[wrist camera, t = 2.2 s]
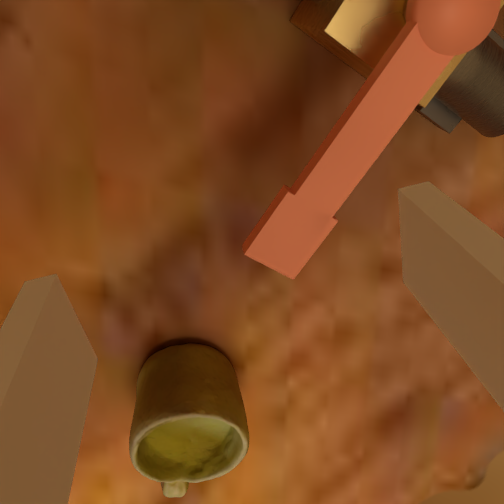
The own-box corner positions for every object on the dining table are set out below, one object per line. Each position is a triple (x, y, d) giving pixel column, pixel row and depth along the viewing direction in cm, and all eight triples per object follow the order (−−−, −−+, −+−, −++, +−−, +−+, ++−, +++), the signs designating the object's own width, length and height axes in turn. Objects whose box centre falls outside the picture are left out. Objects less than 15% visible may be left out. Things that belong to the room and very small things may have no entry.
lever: (444, -57, 20) (460, -60, 19) (498, -5, 22) (517, -4, 21) (238, 242, 26) (241, 254, 25) (291, 270, 27) (297, 283, 26)
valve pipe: (186, -57, 28) (191, -79, 19) (251, -186, 26) (292, -281, 17) (444, 137, 36) (534, 187, 27) (512, 52, 34) (635, 75, 25)
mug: (140, 322, 38) (166, 444, 32) (247, 329, 44) (286, 433, 37) (91, 405, 44) (104, 519, 38) (189, 401, 50) (215, 501, 44)
